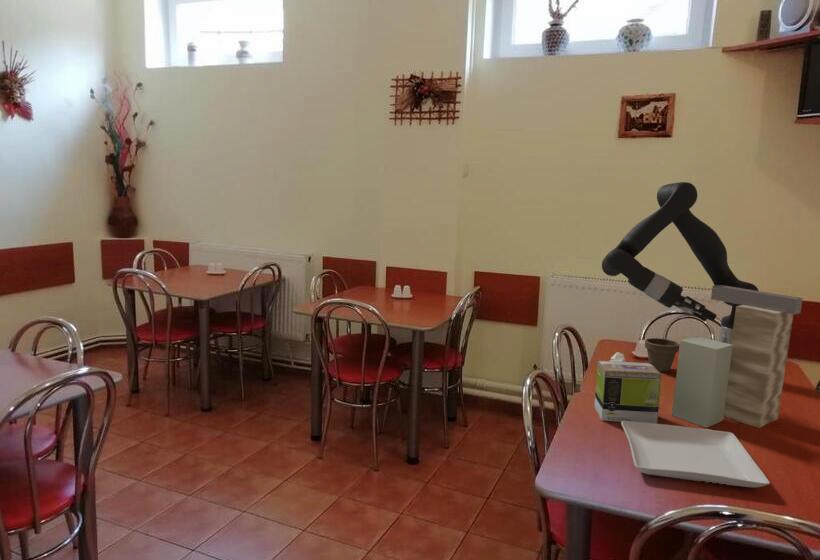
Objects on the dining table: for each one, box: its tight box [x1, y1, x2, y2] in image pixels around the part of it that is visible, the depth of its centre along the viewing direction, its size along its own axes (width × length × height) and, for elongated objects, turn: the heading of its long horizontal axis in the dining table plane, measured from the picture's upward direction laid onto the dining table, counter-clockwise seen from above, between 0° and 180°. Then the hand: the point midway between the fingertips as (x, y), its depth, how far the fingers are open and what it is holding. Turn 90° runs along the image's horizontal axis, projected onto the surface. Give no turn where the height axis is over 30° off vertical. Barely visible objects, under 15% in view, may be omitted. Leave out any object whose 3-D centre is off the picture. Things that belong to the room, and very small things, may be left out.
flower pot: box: [644, 337, 680, 373], centre depth 209 cm, size 12×11×10 cm
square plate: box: [620, 421, 771, 488], centre depth 139 cm, size 27×27×4 cm
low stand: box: [671, 336, 733, 429], centre depth 164 cm, size 9×10×22 cm
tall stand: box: [723, 305, 794, 429], centre depth 165 cm, size 12×10×32 cm
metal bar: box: [710, 284, 804, 315], centre depth 164 cm, size 4×22×4 cm, turn 37°
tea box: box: [594, 360, 662, 424], centre depth 164 cm, size 15×10×15 cm, turn 84°
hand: (710, 318), depth 180 cm, fingers open, 8 cm apart
